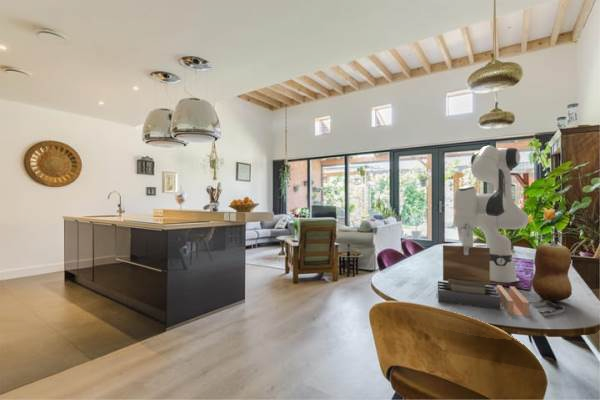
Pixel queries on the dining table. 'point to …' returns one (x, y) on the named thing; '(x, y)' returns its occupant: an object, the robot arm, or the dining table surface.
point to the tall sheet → (466, 264)
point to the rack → (469, 297)
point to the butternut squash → (552, 272)
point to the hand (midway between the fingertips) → (465, 254)
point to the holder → (513, 301)
